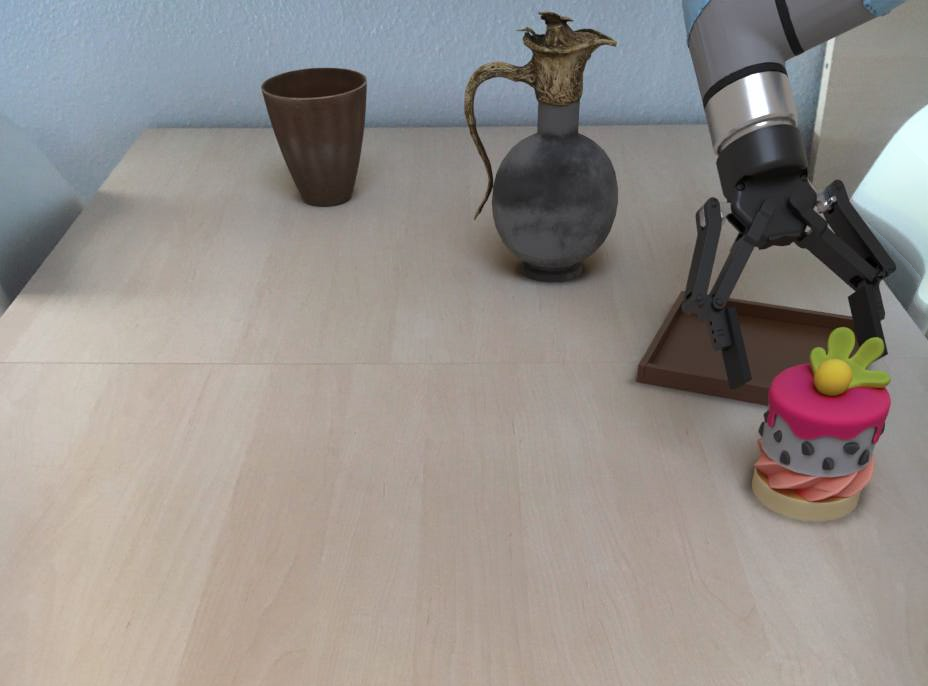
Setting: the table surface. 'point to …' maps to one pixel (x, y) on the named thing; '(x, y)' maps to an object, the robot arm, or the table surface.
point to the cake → (822, 431)
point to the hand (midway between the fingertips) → (809, 372)
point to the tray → (765, 339)
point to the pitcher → (550, 159)
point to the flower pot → (319, 129)
